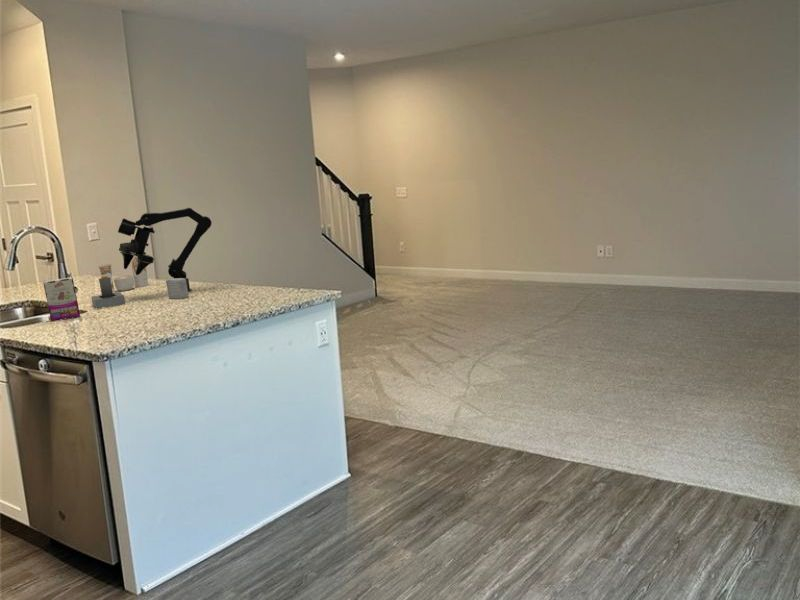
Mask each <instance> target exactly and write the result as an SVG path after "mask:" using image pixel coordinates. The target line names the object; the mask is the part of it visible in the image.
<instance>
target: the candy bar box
mask: <svg viewBox="0 0 800 600" xmlns="http://www.w3.org/2000/svg"><path fill="white" fill-rule="evenodd" d="M42 283H43V289H44V293H45V297H46V302H47V303H46V304H47V308H48V312H49V319H50V321H51V322H55V320H57V321H61V320H60V319H63V320H66V319H65V318H69V319H73V318H72V317H74V318H79V316H80V317H81V313H80V308H79V301H78V297H77V294H76V293H77V292H76V287H75V284H74V283H75V282H74V278H73V276H72V277H71V276H70V277H69V276H68V277H64V278H57V279H50V280H44V281H43V282H42Z"/></svg>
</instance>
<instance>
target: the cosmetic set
mask: <svg viewBox="0 0 800 600" xmlns="http://www.w3.org/2000/svg"><path fill="white" fill-rule="evenodd" d="M137 260H138V257H137V256H135V255H134V257H133V259H132V260H131V268H132V269H131V270H132V275H123V276H117V277H114V278H113V272H112V263H107V264H102V265H99V266H98V269H99V271H100V276H101V275H107V277H110V280H111V286H112V292H113V293H115V289H116V290H117V291H118V292H127V291H131V290H133V289H134V287H135V288H144V287H143V286H145V287H148V286H149V278H148V271H147V267H145V268H144V269H143V270H142V271H141V272H140V274H139V275H136V270H137V266H138V262H137ZM130 289H131V290H130ZM126 290H127V291H126Z"/></svg>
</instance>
